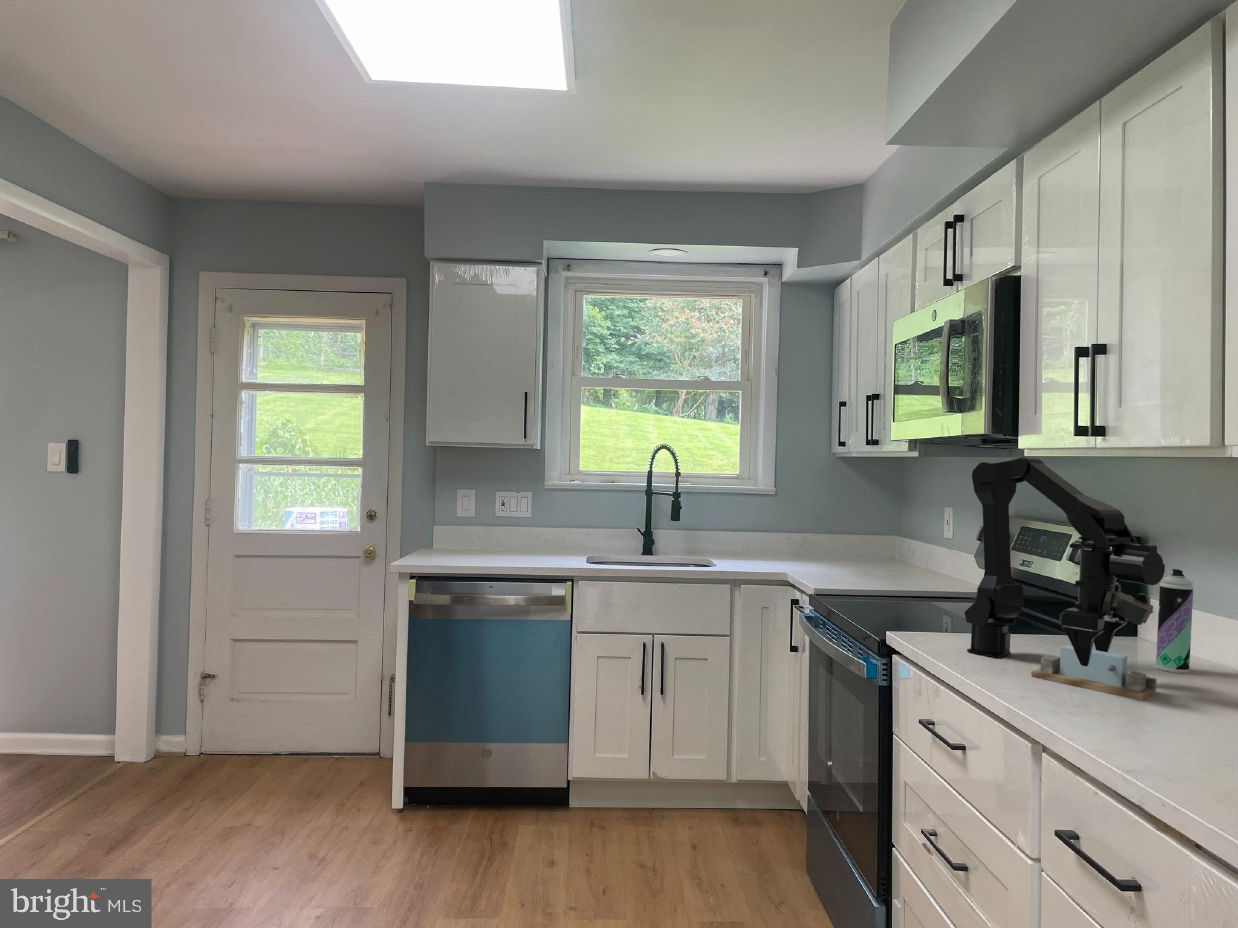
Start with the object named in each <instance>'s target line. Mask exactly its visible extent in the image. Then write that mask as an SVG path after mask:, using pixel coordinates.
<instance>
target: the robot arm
mask: <svg viewBox="0 0 1238 928" xmlns="http://www.w3.org/2000/svg"><path fill="white" fill-rule="evenodd" d="M971 473H972V474H971V478H972V479H971V481H972V485H973V491H974V494H975V495H976V497H977V499H978V500H979V502H980V504H981V506H982V529H983V530H982V531H983V532H982V534H983V557H984V558H983V561H984V563H983V565H984V575H983V577H982V579H981V581H980V583H979V585H978V586H977V589H976V597H975V598H976V599H975V601H974V602H973V603H972V604H971V605H970V606H969V607H968V608H967V609H965V611H964V617H965V622H966V623H968V624H971V635H970V638H971V639H970V648H967V649H966V652H967V653H972V654H977V655H982V656H987V657H992V658H998V659H999V658H1002V657H1005V656H1007V655H1010V654H1011V648H1010V647H1011V633H1010V632H1009V626H1010V625H1011V626H1014V625H1015V623H1016V620H1017V618H1018V615H1019V614H1020V613H1021V612H1022V608H1023V605H1025V601H1024V595H1023V594H1024V586H1023V584H1022V583H1016V581H1015V580H1014V578H1013V575H1012V567H1011V543H1010V542H1011V537H1010V535H1011V533H1010V532H1011V530H1010V511H1009V510H1010V504H1011V502H1012V500H1013V498H1014V497H1015V494H1016V492H1017V486H1018V485H1017V484H1021V483H1025V482H1027V484H1029V485H1030V486H1031V487H1033V488H1034V489H1035V490H1036V491H1038V492H1039V493H1040V494H1041V495H1043V496H1044V497H1045V498H1046V499H1048V500H1049V501H1050V502H1052V503H1053V504H1054V505H1055V506H1056V507H1058V508H1059V509H1060V510H1061V511H1062V512H1063V513H1064V514H1065V515H1066V518H1067V521H1068V523H1069V524H1070V525H1071V527H1072V528H1073V529H1074V530H1075V531H1076V532H1077V533H1078V534H1079V535H1080V536H1078V537H1077V539H1076V540H1075V541H1073V542H1072V543H1070V544H1069V548H1070V549H1074V550H1080V557H1079V558H1080V559H1079V577H1078V579H1077V580H1075V583H1074V586H1075V587H1078V595H1077V596H1078V599H1077V601H1078V602H1074V605H1073V607H1070V608H1066V609H1064V610H1063V611H1061V612H1060V613H1059V619H1058V624H1059V625H1060V626H1061V628H1062V630H1064V632H1065V634H1066V635H1067V637H1068V640H1069V642H1070V644H1071V646H1073V648H1074V651H1075V653H1076V655H1077V657H1078V660H1079V662H1080V664H1081V665H1082V666H1088V665H1089V661H1090V657H1091V652H1092V650H1093V647H1094V650H1097V651H1103V652H1108V653H1109V651H1110V648H1111V644H1112V642H1113V639H1114V636H1115V635H1116V632H1117V631H1118V630H1119V629H1121V628H1122V627H1124V626H1125V625H1127V624H1128V621H1129V622H1130V623H1132V624H1134V625H1138V626H1142V625H1143V624H1146V623H1147V622H1148V619H1149V618H1150V615H1152V613H1153V612H1154V610H1153V609H1154V605H1153V604H1151V596H1149V595H1147V594H1144V593H1138V594H1137V595H1135V596H1132V595H1131V594H1126V593H1123V592H1122V585H1120V582H1117V580H1119V581H1123V582H1128V583H1129V582H1131V583H1136V584H1140V585H1141V584H1142V585H1149V586H1156V585H1158V584H1160V583H1161V580H1162V579H1164V574H1165V572H1166V564H1165V563H1164V559H1163V557H1162V556H1161V554H1159V552H1158V546H1157V545H1156V544H1139V543H1138V541H1137V539H1136V538H1135V537H1134V534H1133V533H1132V532H1131V530H1130V529H1129V527H1128V526H1127V523H1126V522H1125V515H1124V514H1123V512H1121V511H1120V510H1119V509H1118V508H1116V507H1114V506H1112V505H1110V504H1108V503H1106V502H1104V501H1102V500H1098V499H1095V498H1092V497H1090V496H1087V495H1085V493H1083V492H1081V491H1080V490H1079V489H1077V488H1076V487H1075V486H1074V485H1072V484H1071V483H1070V482H1068V481H1067V480H1066V479H1064V478H1063V477H1061V475H1059V474H1057V473H1056V472H1055V471H1054V470H1053V469H1051V468H1050V467H1048V466H1047V465H1046V464H1045V463H1044V462H1043V461H1042V460H1041V459H1040V458H1037V457H1023V456H1022V457H1019V458H1016V459H1013V460H1007V461H1006V460H1005V461H1000V462H985V461H983V462H979V463H978V464H977V465H976V466H975V468H973V469H972V472H971ZM1119 619H1120V620H1119Z"/></svg>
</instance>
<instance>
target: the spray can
mask: <svg viewBox="0 0 1238 928" xmlns="http://www.w3.org/2000/svg"><path fill="white" fill-rule="evenodd" d="M1193 584H1194V583H1193V582H1192V581H1190V580H1188V579H1187V577H1186V575H1185V574H1183V570H1181V569H1178V568H1172V569H1171V573H1170V574H1168V576H1166V577H1165V578H1164V577H1163V578H1162V579H1161V581H1160V582H1159V595H1158V596H1159V597H1158V614H1157V615H1158V616H1157V617H1158V618H1157V619H1158V620H1157V636H1156V638H1157V639H1156V659H1155V668H1156V669H1157V668H1158V670H1159V669H1160V671H1163V670H1164V671H1163V672H1167V671H1169V672H1168V673H1172V672H1173V673H1174V674H1183V673H1184V674H1189V673H1190V664H1191V663H1190V661H1191V660H1190V659H1191V644H1192V643H1191V641H1192V623H1193V622H1192V621H1193V619H1192V618H1193V602H1194V597H1193V596H1194V586H1193Z"/></svg>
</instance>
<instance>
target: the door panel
mask: <svg viewBox="0 0 1238 928" xmlns="http://www.w3.org/2000/svg"><path fill="white" fill-rule="evenodd" d="M1059 657H1060V674H1062V675H1067V676H1071V677H1076V678H1081V679H1086V680H1091V681H1096V682H1100V683H1105V684H1110V685H1115V686H1120V687H1122V686H1123V685H1125V684H1126V675H1127V673H1128V672H1127V671H1128V670H1127V669H1128V655H1124V654H1118V653H1112V652H1109V651H1108V652H1103V651H1097V650H1096V649H1092V652H1091V657H1090V661H1089V665H1088V666H1082V665H1081V664H1080V662H1079V660H1078V657H1077V655H1076V653H1075V651H1074V648H1073V646H1072V645H1069V644H1066V645H1062V646H1061V647H1060V655H1059Z"/></svg>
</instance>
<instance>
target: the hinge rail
mask: <svg viewBox="0 0 1238 928" xmlns="http://www.w3.org/2000/svg"><path fill="white" fill-rule="evenodd" d="M1030 674H1031V676H1032V677H1031V676H1030V677H1031V678H1036V679H1040V678H1041V680H1045V679H1046V681H1051V682H1055V683H1058V684H1059V683H1060V684H1063V685H1069V686H1073V687H1079V688H1082V689H1087V690H1091V691H1095V692H1101V693H1106V694H1110V695H1113V696H1119V697H1123V698H1128V699H1132V700H1137V701H1144V700H1146V699H1148V698H1150V697H1151V696H1153V695H1154V694H1156V693H1157V678H1155V677H1150V676H1147V673H1143V672H1139V671H1134V670H1133V671H1131V672H1127V675H1126V684H1125V685H1123V686H1122V687H1120V686H1115V685H1110V684H1105V683H1100V682H1096V681H1091V680H1086V679H1081V678H1076V677H1071V676H1067V675H1062V674H1060V656H1056V655H1051V654H1048V655H1045V656H1042V657H1040V667H1038V668H1036V669H1033V670H1031V673H1030Z"/></svg>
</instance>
